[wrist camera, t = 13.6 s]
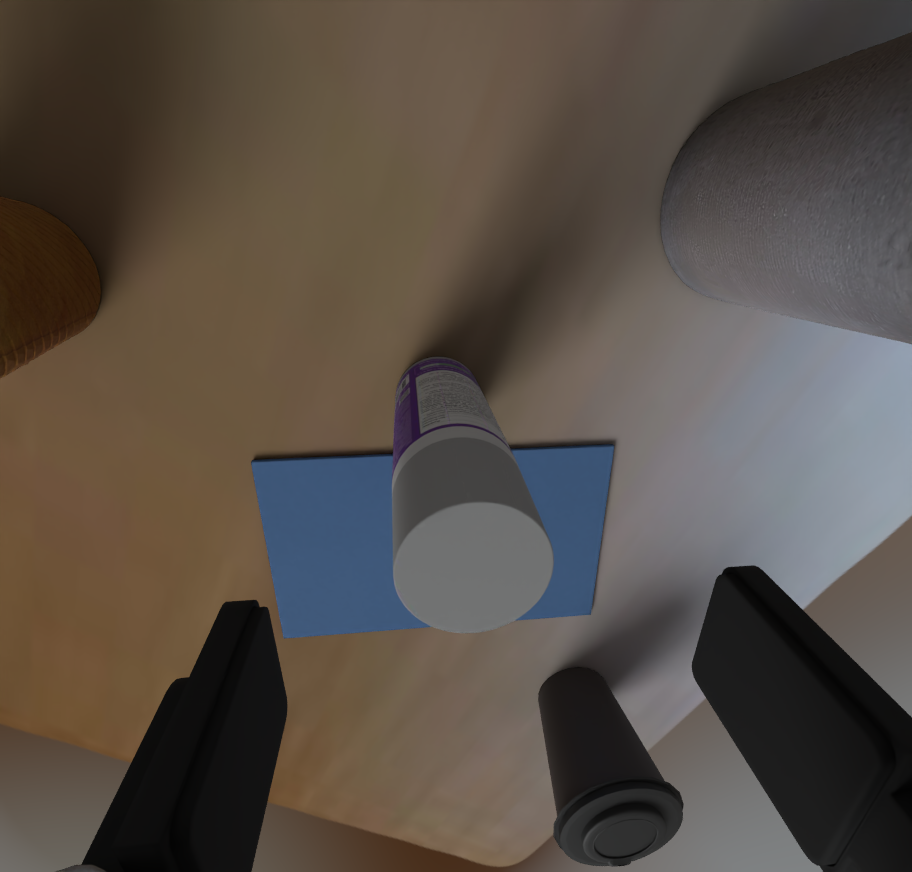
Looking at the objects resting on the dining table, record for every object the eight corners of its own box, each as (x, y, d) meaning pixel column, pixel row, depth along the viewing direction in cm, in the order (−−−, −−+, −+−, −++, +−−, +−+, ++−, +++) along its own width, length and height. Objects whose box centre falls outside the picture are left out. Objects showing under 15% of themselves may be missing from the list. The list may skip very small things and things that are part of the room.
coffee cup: (548, 743, 39) (592, 898, 30) (501, 685, 36) (535, 839, 27) (638, 699, 38) (712, 846, 29) (598, 636, 35) (666, 779, 26)
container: (432, 451, 28) (462, 662, 14) (377, 393, 26) (350, 569, 13) (496, 401, 27) (590, 573, 14) (443, 338, 26) (490, 462, 12)
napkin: (252, 459, 27) (250, 462, 27) (612, 443, 29) (614, 446, 29) (284, 635, 32) (283, 638, 32) (589, 611, 34) (590, 614, 34)
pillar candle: (808, 41, 22) (1476, -270, 8) (864, 230, 26) (1394, 231, 12) (623, 178, 24) (935, 105, 10) (701, 339, 27) (1007, 451, 13)
